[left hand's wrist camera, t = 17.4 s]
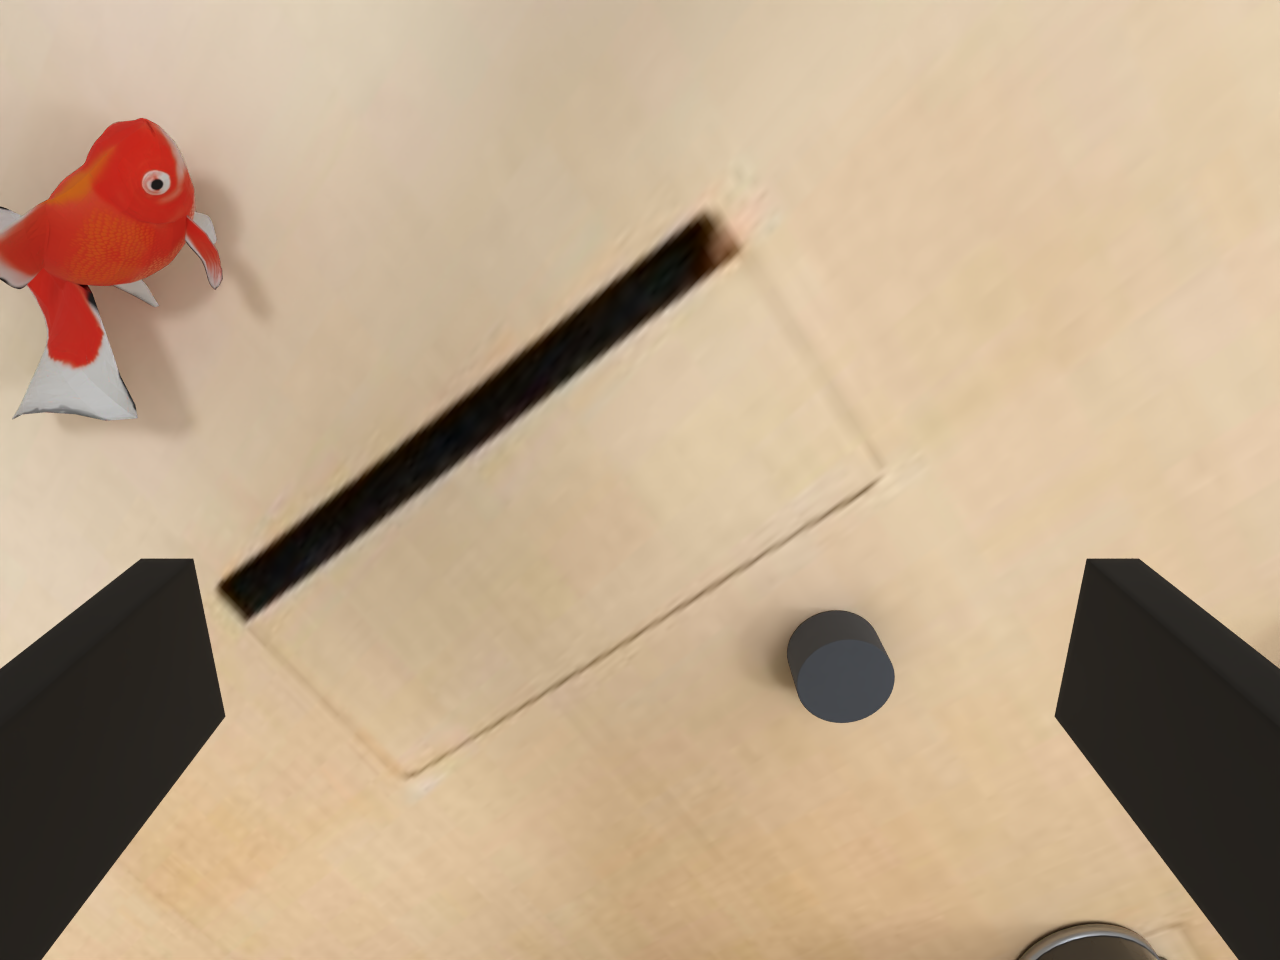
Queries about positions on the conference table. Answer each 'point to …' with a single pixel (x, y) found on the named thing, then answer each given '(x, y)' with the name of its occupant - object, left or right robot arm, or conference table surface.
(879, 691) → the puck
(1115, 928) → the right robot arm
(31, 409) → the fish
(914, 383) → the conference table surface
